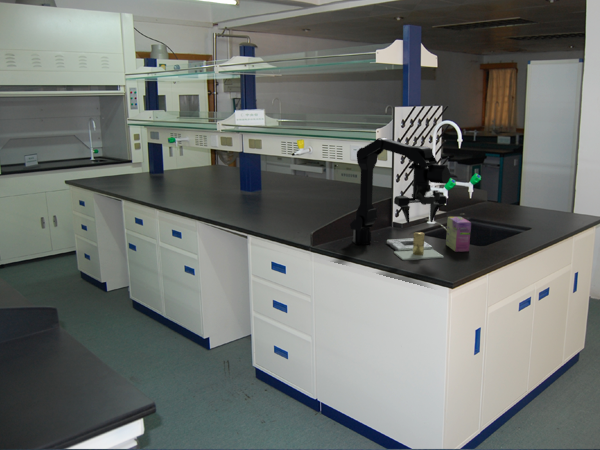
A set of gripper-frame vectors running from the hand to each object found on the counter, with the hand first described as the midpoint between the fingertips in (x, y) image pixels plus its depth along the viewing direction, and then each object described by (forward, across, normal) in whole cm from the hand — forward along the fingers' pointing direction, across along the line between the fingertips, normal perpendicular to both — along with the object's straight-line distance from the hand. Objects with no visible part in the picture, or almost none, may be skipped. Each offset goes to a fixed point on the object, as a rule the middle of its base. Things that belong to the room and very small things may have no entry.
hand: (419, 222), depth 195 cm
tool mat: (+13, 0, 0) cm, 13 cm away
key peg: (+12, 0, 0) cm, 12 cm away
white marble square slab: (+13, +1, +13) cm, 18 cm away
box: (+13, +19, +7) cm, 24 cm away
